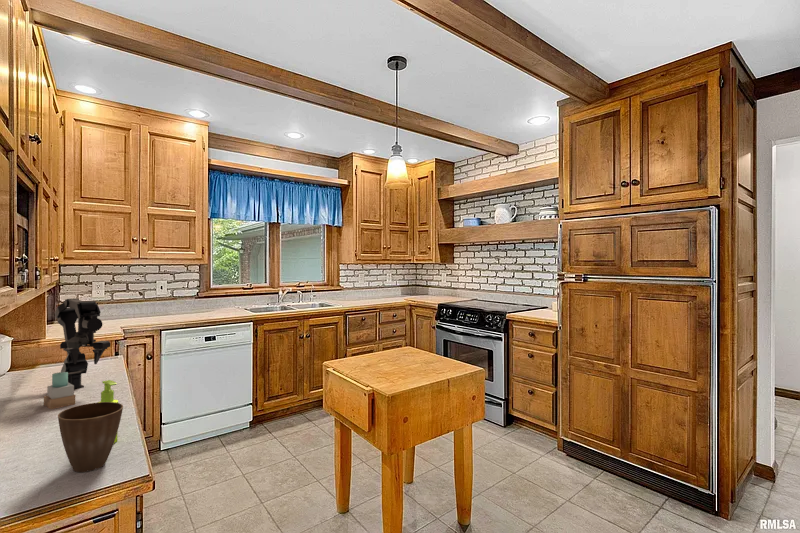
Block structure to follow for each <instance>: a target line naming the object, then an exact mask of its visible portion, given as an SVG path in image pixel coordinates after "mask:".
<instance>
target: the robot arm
mask: <svg viewBox="0 0 800 533" xmlns="http://www.w3.org/2000/svg"><path fill="white" fill-rule="evenodd" d="M54 316H55V319H56V320H57V321H56V322H57V323H58V324H59V325H60V326H61V327H62V329H63V337H64V341H61V343H60V344H59V349H62V350H63V351H65V352H66V354H67V356H66V357H65V359H64V361H63V365H62V366H61V367H62V368H61V369H60V372H68V383H70V384H72V385H74V390H75V389H79V388H84V387H85V385H83V384H82V375H83V374H87V371H88V367H89V363H88V360H86V359H87V358H86V353H82V352H81V351H80V348H81V347H82V348H83V347H87V348H93V349H92V351H93V363H94V365H98V362H99V361H100V359H101V357H102V356H103V353H104V352H105V350H107V349H108V348H111V342H110V341H109V340H99V341H96V340H97V339H95V337H94V336H95V334H96V333H97V331H99V330H101V329H102V327H103V321H102V320H101V319H100V318H98V317H100V316H101V309H100V307H99V304H98V303H97V302H96V301H95V300H81V299H79V298H67V299H64V300H63V303H61V304H59V305H58V306H57V307H56V310H55V314H54ZM76 322H77V328H76Z"/></svg>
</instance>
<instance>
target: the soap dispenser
mask: <svg viewBox="0 0 800 533" xmlns="http://www.w3.org/2000/svg"><path fill="white" fill-rule="evenodd" d="M102 384H104V386H103V388H104V390H102V391H100V401H99V402H116V403H119V400H118V399H114V398H115V397H114V396H115V391H114V390H113V389H112V387H111V386H116V385H118V384H117V382H116V381H114V380H110V379H108V380H103V381H102ZM118 431H119V430H118ZM118 431H117V435H116V438H115V441H114V444H116V443H117V442H118V436H119V435H118V434H119V433H118ZM115 442H116V443H115Z"/></svg>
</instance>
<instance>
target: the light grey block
mask: <svg viewBox="0 0 800 533" xmlns="http://www.w3.org/2000/svg"><path fill="white" fill-rule="evenodd" d="M46 388H47V390H46V391H47V392H46V396H48V397H50V398H51V399H56V398H62V397H67V396H72V395H75V389H74V385H72V384H70V383H68V385H67V386H63V387H52V384H51V385H47V386H46Z"/></svg>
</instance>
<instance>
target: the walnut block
mask: <svg viewBox="0 0 800 533" xmlns="http://www.w3.org/2000/svg"><path fill="white" fill-rule="evenodd" d="M72 405H76V394H74V395H72V396H67V397H62V398H56V399H51V398H50V397H48V396H47V395H44V396H43V406H44V407H46V408H48V409H49V410H54V409H58V408H63V407H64V408H65V407H68V406H72Z"/></svg>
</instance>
